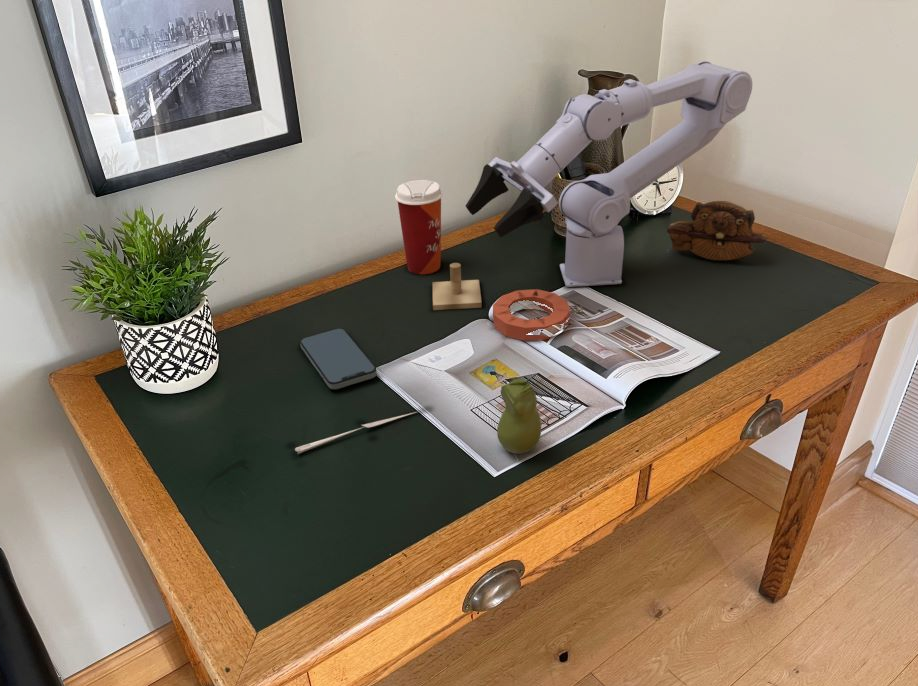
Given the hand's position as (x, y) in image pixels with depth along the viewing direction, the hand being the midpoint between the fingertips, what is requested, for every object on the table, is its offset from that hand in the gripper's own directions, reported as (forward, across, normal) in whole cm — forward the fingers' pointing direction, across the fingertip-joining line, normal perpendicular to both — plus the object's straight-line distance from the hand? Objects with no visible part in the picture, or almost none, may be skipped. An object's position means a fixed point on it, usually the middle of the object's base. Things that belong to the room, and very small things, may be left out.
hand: (482, 221), depth 120 cm
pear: (+20, +34, -1) cm, 39 cm away
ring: (+5, +10, +13) cm, 17 cm away
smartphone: (+31, +2, -2) cm, 31 cm away
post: (+10, -3, +12) cm, 16 cm away
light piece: (+33, +19, -7) cm, 39 cm away
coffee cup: (+10, -16, +15) cm, 24 cm away
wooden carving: (-27, +13, +34) cm, 46 cm away
